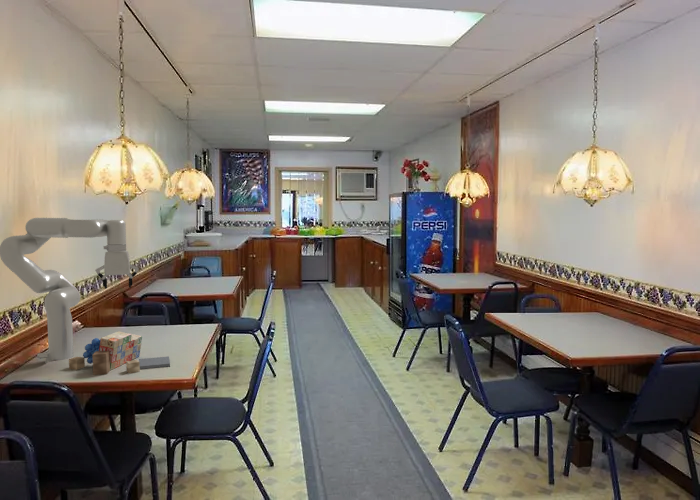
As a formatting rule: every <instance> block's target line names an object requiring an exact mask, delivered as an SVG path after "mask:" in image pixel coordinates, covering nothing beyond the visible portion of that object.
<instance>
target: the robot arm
mask: <svg viewBox="0 0 700 500" xmlns="http://www.w3.org/2000/svg"><path fill="white" fill-rule="evenodd" d="M126 228H127V227H126V221H125V220H123V219H109V220H107V219H100V218H99V219H98V218H96V219H69V218H67V217H33V218H31V219H29V220H28V221H27V222H26V224H25V228H24V229H25V231H26V233H25V234H20V235H12V236H8V237H5V238H4V239H3V240H2V241H1V243H0V259H1V262H2V263H3V264H4V266H6V267H7V269H9V270H10V271H12V273H13V274H15V275H16V276H17V277H18V279H20V280H21V281H22V282H23V283H24V284H25V285H26V286H28V287H29V288H30V290H31V291H33V292H35V293H37V294H44V293H47V294H46V296H45V298H44V308H45V312H46V321H47V340H48V341H47V343H48V346H47V347H48V351H47V352H40V353H37V356H36V357H37V359H38V358H39V359H45V360H44V363H45V364H48V363H50V362H52V361H63V360H69V359H71V358H74V335H73V334H74V333H73V329H74V327H73V316H72V313H71V308H72V307H73V308H74V307H75V306H77V305H78V304H79V303H80V301H81V294H80V291H79V290H78V289H77V287H76V286H75V285H74V284H73V283H72V282H70V281H69V279H67V278H66V277H65V276H64V274H63V275H62V273H60V272H59V271H57V270H54V269H46V270H44V269H42V268H41V267H40V266H39V265H38V264H36V263H35V262H34V261H33V260H32V259H30V258H29V257H27V256H26V255H30V254H33V253H36V252H37V251H38V250H40V248H41V247H43V245H45V244H46V243H47V242H48V241H49V240H50V239H51V238H53V239H54V238H60V239H61V238H63V239H64V238H65V239H66V238H67V239H68V238H90V239H92V238H102V237H106V243H107V245H103V250H106V251H105V252H104V260H103V261H104V263H103V264H104V265H102V266H100V267H97V268H96V269H95V272H96V274H97V276H98V277H99V278H101V279H102V287H103V288H104V289H108V280H107V277H108V276H120V275H122V276H125V275H127V277H128V288H130V289H131V287H132V286H133V279H134V277H135V276H136V275H137V273H138V272H139V270H140V268H139V267H137V266H136V265H132V264H131V261H130V255H129V251H127V229H126ZM131 269H133V270H134V272H133V273H131ZM102 270H104V271H103V272H104V275H103V274H102V273H101V271H102Z"/></svg>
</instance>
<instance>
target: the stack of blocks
mask: <svg viewBox="0 0 700 500" xmlns="http://www.w3.org/2000/svg"><path fill="white" fill-rule="evenodd" d="M100 339H101V341H100V347H99V351H110V371H112V370H114V369H116V368H119V367H120V366H123V365H125V364H126V361H132V360H136V359H137V358H140V354H141V348H142V339H143V336H142V335H139V334H134V333H127V332H123V331H115V332H113V333H110V334H108V335H106V336H103V337H101V338H100Z"/></svg>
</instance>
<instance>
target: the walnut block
mask: <svg viewBox="0 0 700 500" xmlns="http://www.w3.org/2000/svg"><path fill="white" fill-rule="evenodd" d="M110 371H111V370H110V351H96V352H95V353H94V354H93V363H92V375H93V376H97V375H98V376H100V375H108V374H109V373H110Z"/></svg>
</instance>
